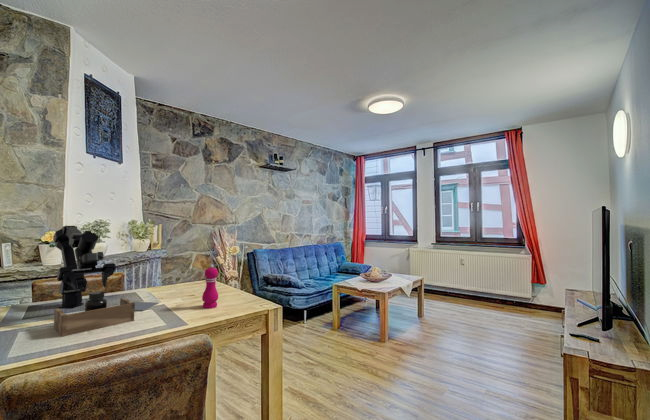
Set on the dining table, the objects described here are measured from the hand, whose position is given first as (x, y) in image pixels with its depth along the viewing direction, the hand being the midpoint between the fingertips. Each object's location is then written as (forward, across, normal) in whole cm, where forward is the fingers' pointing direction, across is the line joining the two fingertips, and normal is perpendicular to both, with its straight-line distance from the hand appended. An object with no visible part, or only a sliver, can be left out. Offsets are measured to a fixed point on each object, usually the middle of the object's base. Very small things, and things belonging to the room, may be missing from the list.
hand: (91, 288), depth 122 cm
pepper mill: (+21, +42, -3) cm, 47 cm away
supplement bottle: (+14, 0, +4) cm, 14 cm away
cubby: (+14, 0, +4) cm, 14 cm away
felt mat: (+5, +20, +13) cm, 24 cm away
